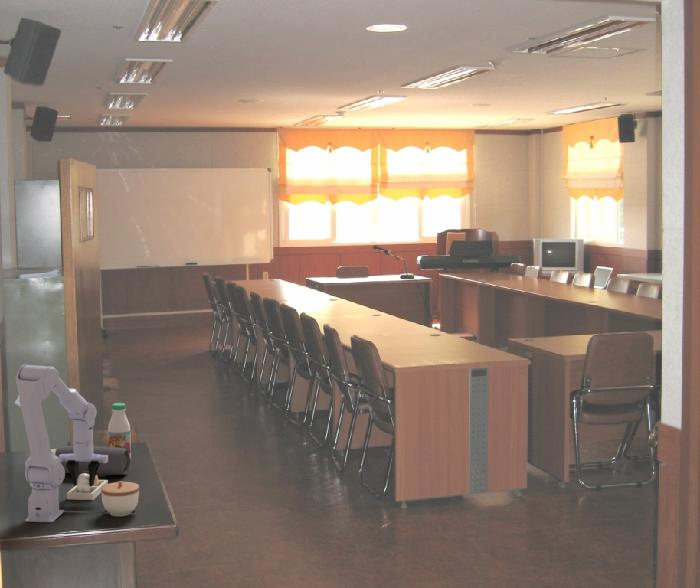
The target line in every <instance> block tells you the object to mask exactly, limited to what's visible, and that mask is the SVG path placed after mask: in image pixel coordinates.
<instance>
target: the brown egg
mask: <svg viewBox="0 0 700 588" xmlns="http://www.w3.org/2000/svg"><path fill="white" fill-rule="evenodd" d="M88 475H89V474H88ZM98 480H99V476H97V475H96V476H95V481H94V485H93V486H98Z"/></svg>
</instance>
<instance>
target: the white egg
mask: <svg viewBox="0 0 700 588" xmlns="http://www.w3.org/2000/svg"><path fill="white" fill-rule="evenodd" d="M90 490H91V486H90V485H89V475H88V474H86V473H83V474H80V475H79V476H78V478H77V491H80V492H86V491H90Z"/></svg>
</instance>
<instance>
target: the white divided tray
mask: <svg viewBox="0 0 700 588" xmlns="http://www.w3.org/2000/svg"><path fill="white" fill-rule="evenodd" d="M106 484H109V480H108V479H98V486H91V490H90V491H86V492H80V491H77V486H73V487H72V488H71V489H70V490H69V491H68V492H67V493H66V500H79V501H80V500H81V501H94V500H95V499H96V498H97V497H98V496H100V494H102V492H101V488H102V487H103V486H104V485H106Z"/></svg>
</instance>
